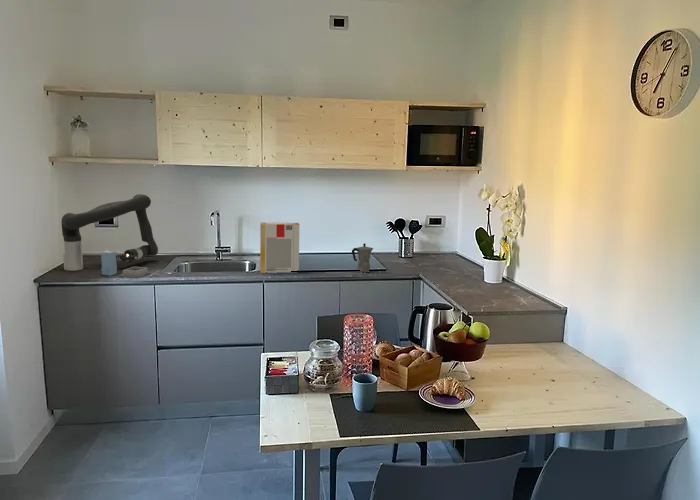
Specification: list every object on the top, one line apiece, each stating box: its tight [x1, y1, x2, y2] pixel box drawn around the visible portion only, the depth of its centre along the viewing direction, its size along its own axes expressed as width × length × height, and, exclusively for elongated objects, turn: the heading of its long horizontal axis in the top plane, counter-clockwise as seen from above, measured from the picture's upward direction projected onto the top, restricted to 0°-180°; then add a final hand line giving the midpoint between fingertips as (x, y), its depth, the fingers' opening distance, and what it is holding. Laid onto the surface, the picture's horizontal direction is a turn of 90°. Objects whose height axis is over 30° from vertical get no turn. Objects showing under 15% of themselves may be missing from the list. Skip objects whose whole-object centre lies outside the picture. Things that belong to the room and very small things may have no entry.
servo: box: [100, 250, 118, 276], centre depth 311 cm, size 5×9×14 cm, turn 166°
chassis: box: [120, 266, 151, 279], centre depth 311 cm, size 11×12×4 cm
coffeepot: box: [351, 242, 374, 271], centre depth 337 cm, size 15×9×18 cm, turn 119°
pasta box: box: [259, 222, 300, 274], centre depth 328 cm, size 23×8×30 cm, turn 100°
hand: (115, 259), depth 316 cm, fingers open, 8 cm apart
